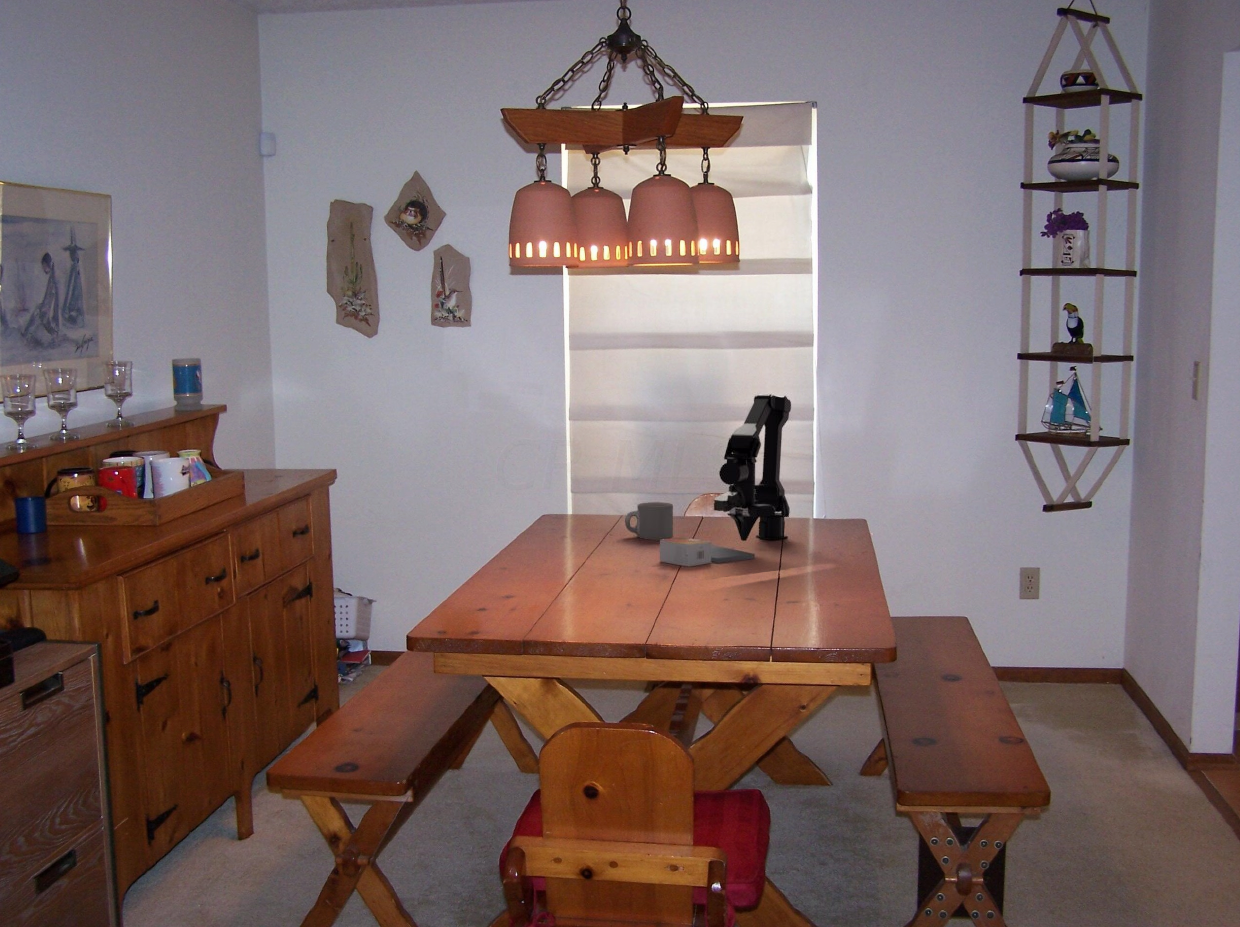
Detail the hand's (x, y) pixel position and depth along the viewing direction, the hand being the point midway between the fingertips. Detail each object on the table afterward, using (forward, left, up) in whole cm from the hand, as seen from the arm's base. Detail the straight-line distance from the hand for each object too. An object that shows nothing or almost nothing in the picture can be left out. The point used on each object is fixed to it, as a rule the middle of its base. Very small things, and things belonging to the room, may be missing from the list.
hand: (743, 540), depth 303 cm
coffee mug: (+8, -32, -3) cm, 33 cm away
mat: (+10, 0, -3) cm, 10 cm away
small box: (+20, +9, 0) cm, 22 cm away
